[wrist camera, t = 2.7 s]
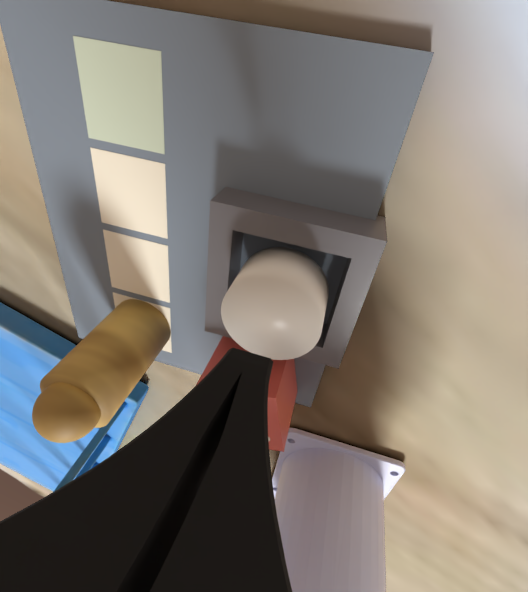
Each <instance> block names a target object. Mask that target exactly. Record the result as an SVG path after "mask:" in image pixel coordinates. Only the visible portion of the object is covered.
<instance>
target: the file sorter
mask: <svg viewBox="0 0 528 592" xmlns="http://www.w3.org/2000/svg"><path fill="white" fill-rule="evenodd" d="M75 346H76V345H75V344H73V343H72V342H70V341H68V340H66V339H64V338H63V337H61V336H59V335H57V334H56V333H54V332H52V331H50V330H49V329H47V328H45V327H43V326H42V325H40V324H38V323H36V322H34V321H33V320H31V319H29V318H27V317H26V316H24V315H22V314H20V313H19V312H17V311H15V310H13V309H11V308H10V307H8V306H6V305H4V304H3V303H1V302H0V464H2V465H4V466H6V467H8V468H9V469H11V470H13V471H15V472H17V473H19V474H21V475H23V476H25V477H27V478H28V479H30V480H32V481H34V482H36V483H38V484H40V485H42V486H44V487H45V488H47V489H49V490H51V491H53V492H54V491H56V490H58V489H59V488H61V487H63V486H64V485H66V484H68V483H69V482H71V481H72V480H74V479H76V478H77V477H79V476H81V475H82V474H84V473H85V472H87V471H89V470H90V469H92V468H93V467H95V466H96V465H98V464H99V463H101V462H102V461H104V460H105V459H107V458H108V457H110V456H111V455H112V454H114V453H115V452H117V450H118V448H119V446H120V444H121V442H122V440H123V438H124V436H125V434H126V432H127V430H128V428H129V426H130V424H131V422H132V420H133V419H134V417H135V415H136V413H137V411H138V409H139V407H140V405H141V403H142V401H143V399H144V397H145V395H146V393H147V391H148V388H149V387H148V386H147V385H146V384H144V383H143V382H141V381H139V382H138V383H137V384H136V386H135V387H134V389H133V390H132V391H131V393H130V394H129V395H128V397H127V398H126V400H125V401H124V402H123V404H122V405H121V406H120V408H119V409H118V411H117V412H116V413H115V415H114V416H113V418H112V419H111V420H110V422H109V423H108V424H107V425H106V426H104V427H101V428H93V430H92V431H91V432H89V433H88V434H87V435H86V436H84V437H82V438H80V439H78V440H76V441H73V442H68V443H56V442H52V441H49V440H47V439H45V438H43V437H42V436H41V435H40V434H39V433H38V432H37V430H36V429H35V427H34V424H33V420H32V411H33V406H34V403H35V401H36V399H37V398H38V396H39V395H40V394H41V390H40V381H41V380H42V378H43V377H44V376H45V375H46V374H47V373H49V372H50V371H51V370H52V369H53V368H54V367H55V366H56V365H57V364H58V363H59V362H60V361H61V360H62V359H63V358H64V357H65V356H66V355H67V354H68V353H69V352H70V351H71V350H72V349H73V348H74V347H75Z"/></svg>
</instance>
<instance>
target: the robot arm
mask: <svg viewBox="0 0 528 592" xmlns="http://www.w3.org/2000/svg"><path fill="white" fill-rule="evenodd" d="M272 366H273V361H272V360H271V358H268V357H264V356H261V355H257V354H254V353H250V352H247V351H243V350H240V349H236V348H231V349H229V350H228V351H227V353H226V354H225V355H224V356H223V358H222V359H221V360H220V361H219V362H218V363H217V365H216V366H215V367H214V368H213V369H212V370H211V371H210V372H209V373H208V374H207V375H206V376H205V377H204V378H203V379H202V380H201V381H200V382H199V383H198V384H197V385H196V386H195V387H194V388H193V389H192V390H191V391H190V392H189V393H188V394H187V395H186V396H185V397H184V398H183V399H182V400H181V401H180V402H178V403H177V404H176V405H175V406H174V407H173V408H172V409H170V410H169V411H168V412H167V413H166V414H165V415H164V416H162V417H161V418H160V419H159V420H158V421H156V422H155V423H154V424H153V425H152V426H150V427H149V428H148V429H147V430H145V431H144V432H143V433H141V434H140V435H139V436H137V437H136V438H135V439H133V440H132V441H131V442H129V443H128V444H127V445H125V446H124V447H122V448H121V449H120V450H118V451H117V452H115V453H114V454H112V455H111V456H110V457H108V458H107V459H105V460H104V461H102V462H101V463H99V464H98V465H96V466H95V467H93V468H92V469H90V470H89V471H87V472H85V473H84V474H82V475H81V476H79V477H77V478H76V479H74V480H72V481H71V482H69V483H68V484H66V485H64V486H63V487H61V488H59V489H58V490H56V491H54V492H53V493H51V494H50V495H48V496H46V497H44V498H43V499H41V500H39V501H38V502H35V503H34V504H32V505H30V506H28V507H26V508H25V509H23V510H21V511H19V512H17V513H15V514H14V515H12V516H10V517H8V518H6V519H4V520H2V521H0V592H386V567H385V528H384V499H385V498H386V496H387V495H388V494H389V492H390V491H391V490H392V488H393V487H394V485H395V484H396V483H397V481H398V480H399V479H400V477H401V476H402V475H403V473H404V472H405V464H404V463H403V462H401V461H399V460H396V459H393V458H390V457H386V456H383V455H380V454H377V453H373V452H370V451H367V450H364V449H361V448H357V447H354V446H351V445H348V444H344V443H341V442H338V441H335V440H332V439H328V438H325V437H322V436H319V435H315V434H312V433H309V432H306V431H303V430H299V429H296V428H289V431H288V435H287V440H286V444H285V449H284V452H282V451H280V454H279V457H278V460H277V464H276V467H275V470H274V474H273V477H272V476H271V467H270V456H269V442H268V388H269V380H270V375H271V371H272ZM274 498H275V499H274Z"/></svg>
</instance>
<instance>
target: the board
mask: <svg viewBox="0 0 528 592" xmlns="http://www.w3.org/2000/svg"><path fill="white" fill-rule="evenodd" d="M0 25H1V29H2V33H3V37H4V41H5V45H6V49H7V53H8V57H9V61H10V65H11V69H12V73H13V77H14V81H15V85H16V89H17V93H18V97H19V101H20V105H21V109H22V113H23V117H24V121H25V125H26V129H27V133H28V137H29V141H30V145H31V149H32V153H33V157H34V161H35V165H36V169H37V173H38V177H39V181H40V185H41V189H42V193H43V197H44V201H45V205H46V209H47V213H48V217H49V221H50V225H51V229H52V233H53V237H54V241H55V245H56V249H57V253H58V257H59V261H60V265H61V269H62V273H63V277H64V281H65V285H66V289H67V293H68V297H69V301H70V305H71V309H72V313H73V317H74V321H75V325H76V329H77V333H78V337H79V338H81V339H84V338H85V337H86V336H87V335H88V334H89V333H90V332H91V331H92V330H93V329H94V328H95V327H96V326H97V325H98V324H99V323H100V322H101V321H102V320H103V319H104V318H105V317H106V316H108V315H109V314H110V313H111V312H112V311H113V310H114V309H115V308H116V307H117V306H118V305H119V304H120V303H121V302H123V301H125V300H128V299H137V300H141V301H144V302H147V303H149V304H151V305H152V306H154V307H155V308H157V309H158V310H159V311H160V312H161V313H162V314H163V315H164V316H165V318H166V319H167V321H168V323H169V325H170V329H171V336H170V339H169V340H168V342H167V343H166V345H165V346H164V347H163V349H162V350H161V351H160V353H159V354H158V356H157V357H156V358H155V360H154V361H158V362H161V363H164V364H168V365H171V366H174V367H178V368H181V369H184V370H188V371H191V372H194V373H198V374H201V375H202V373H203V372H204V370H205V368H206V366H207V364H208V362H209V361H210V359H211V357H212V355H213V353H214V351H215V349H216V348H217V346H218V344H219V342H220V340H221V338H222V337H223V336H221V335H218V334H214V333H211V332H207V331H205V309H206V286H207V262H208V238H209V215H210V200H211V199H212V198H214V197H215V196H216V195H217V194H218V193H219V192H220V191H222V190H223V189H224V188H225V187H229V188H234V189H238V190H242V191H247V192H251V193H256V194H260V195H265V196H269V197H274V198H278V199H282V200H287V201H291V202H296V203H300V204H305V205H309V206H314V207H318V208H323V209H327V210H331V211H336V212H340V213H345V214H349V215H354V216H358V217H363V218H367V219H372V220H376V218H377V215H378V212H379V209H380V206H381V203H382V201H383V198H384V195H385V192H386V189H387V186H388V183H389V180H390V177H391V175H392V172H393V169H394V166H395V163H396V160H397V157H398V154H399V152H400V149H401V146H402V143H403V140H404V137H405V134H406V131H407V128H408V126H409V123H410V120H411V117H412V114H413V111H414V108H415V105H416V102H417V100H418V97H419V94H420V91H421V88H422V85H423V82H424V79H425V77H426V74H427V71H428V68H429V65H430V62H431V59H432V56H433V53H434V52H428V51H422V50H416V49H409V48H403V47H397V46H390V45H384V44H378V43H372V42H365V41H359V40H353V39H346V38H340V37H334V36H328V35H321V34H315V33H309V32H302V31H296V30H290V29H283V28H277V27H271V26H265V25H258V24H252V23H246V22H239V21H233V20H227V19H221V18H214V17H208V16H202V15H195V14H189V13H183V12H177V11H170V10H164V9H158V8H151V7H145V6H139V5H133V4H126V3H120V2H114V1H107V0H0ZM272 247H285V248H291V249H294V250H297V251H300V252H302V253H304V254H305V255H307V256H309V257H310V258H311V259H313V260H314V261H315V262H316V263H317V264H318V265H319V266H320V268H321V269H322V270H323V272H324V274H325V276H326V278H327V282H328V287H329V296H328V301H327V306H326V312H325V317H324V322H323V323H324V324H327V322H328V319H329V316H330V313H331V309H332V306H333V303H334V300H335V297H336V294H337V291H338V287H339V284H340V281H341V278H342V275H343V272H344V269H345V265H346V262H347V259H348V258H347V257H343V256H338V255H334V254H330V253H326V252H322V251H318V250H314V249H309V248H305V247H301V246H297V245H293V244H289V243H284V242H280V241H276V240H272V239H268V238H264V237H260V236H255V235H251V234H247V233H244V235H243V244H242V254H241V263H240V270H241V269H242V267H243V265H244V264H245V262H246V261H247V260H248V259H249V258H250V257H251V256H252V255H254V254H255V253H257V252H259V251H261V250H264V249H267V248H272ZM294 362H295V372H296V382H297V396H296V400H295V403H297V404H301V405H304V406H307V407H311V405H312V403H313V400H314V397H315V394H316V391H317V388H318V385H319V382H320V379H321V377H322V374H323V371H324V368H325V365H324V364H320V363H316V362H313V361H309V360H306V359H302V358H299V357H297V358H294Z"/></svg>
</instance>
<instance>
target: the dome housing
mask: <svg viewBox="0 0 528 592" xmlns="http://www.w3.org/2000/svg"><path fill="white" fill-rule="evenodd" d="M244 233H247V234H251V235H255V236H260V237H264V238H268V239H272V240H276V241H280V242H284V243H289V244H293V245H297V246H301V247H305V248H309V249H314V250H318V251H322V252H326V253H330V254H334V255H338V256H343V257H347V258H348V259H347V262H346V265H345V269H344V272H343V275H342V278H341V281H340V284H339V287H338V291H337V294H336V297H335V300H334V303H333V306H332V309H331V313H330V316H329V319H328V322H327V324H324V323H323V328H322V333H321V336H320V339H319V341H318V342H317V344H316V345H315V347H314V348H313V349H312V350H310V351H309V352H308V353H306V354H304V355H302V356H300V357H299V358H302V359H306V360H309V361H313V362H316V363H320V364H324V365H327V366H331V367H334V368H339V366H340V363H341V361H342V358H343V355H344V353H345V350H346V348H347V345H348V342H349V340H350V337H351V334H352V332H353V329H354V327H355V324H356V321H357V319H358V316H359V314H360V311H361V308H362V306H363V303H364V300H365V298H366V295H367V293H368V290H369V287H370V285H371V282H372V280H373V277H374V274H375V272H376V269H377V266H378V264H379V261H380V259H381V256H382V253H383V251H384V248H385V246H386V243H387V234H386V222H385V217H382V216H377V218H376V220H372V219H367V218H363V217H358V216H354V215H349V214H345V213H340V212H336V211H331V210H327V209H323V208H318V207H314V206H309V205H305V204H300V203H296V202H291V201H287V200H282V199H278V198H274V197H269V196H265V195H260V194H256V193H251V192H247V191H242V190H238V189H234V188H229V187H225V188H224V189H223V190H222V191H220V192H219V193H218V194H217V195H216V196H215V197H214V198H212V199H211V200H210V215H209V238H208V262H207V286H206V309H205V331H207V332H211V333H214V334H218V335H221V336H225V337H228V338H232V337H231V336H230V335H229V333H228V332H227V330H226V328H225V326H224V324H223V321H222V317H221V305H222V301H223V298H224V296H225V294H226V293H227V291H228V289H229V288H230V286H231V285H232V283H233V281H234V280H235V278H236V277H237V275H238V273H239V272H240V263H241V254H242V244H243V235H244Z"/></svg>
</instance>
